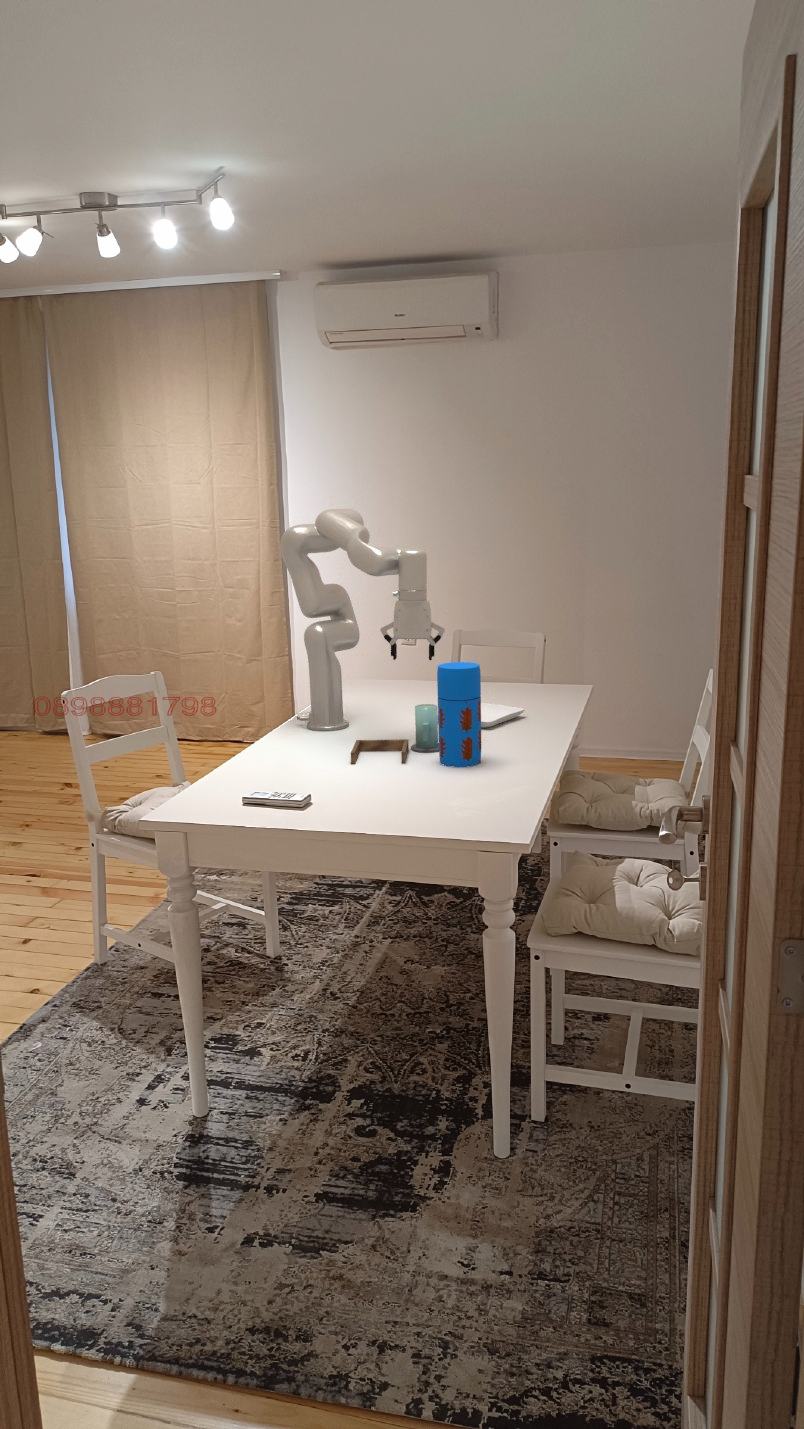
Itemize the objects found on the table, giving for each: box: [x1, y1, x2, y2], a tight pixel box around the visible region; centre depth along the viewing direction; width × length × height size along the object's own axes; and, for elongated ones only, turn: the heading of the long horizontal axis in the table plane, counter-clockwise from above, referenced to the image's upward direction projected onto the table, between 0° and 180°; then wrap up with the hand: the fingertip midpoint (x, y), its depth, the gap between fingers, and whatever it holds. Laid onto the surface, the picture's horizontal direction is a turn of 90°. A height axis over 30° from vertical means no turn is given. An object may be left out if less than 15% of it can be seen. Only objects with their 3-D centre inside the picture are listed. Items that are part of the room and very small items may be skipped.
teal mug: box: [414, 703, 439, 749], centre depth 276 cm, size 8×6×11 cm
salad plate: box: [437, 702, 525, 729], centre depth 311 cm, size 21×21×3 cm
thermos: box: [436, 661, 482, 768], centre depth 261 cm, size 11×11×25 cm
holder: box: [350, 738, 410, 765], centre depth 271 cm, size 14×14×3 cm
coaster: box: [410, 742, 439, 754], centre depth 279 cm, size 9×9×1 cm
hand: (412, 659), depth 279 cm, fingers open, 9 cm apart
